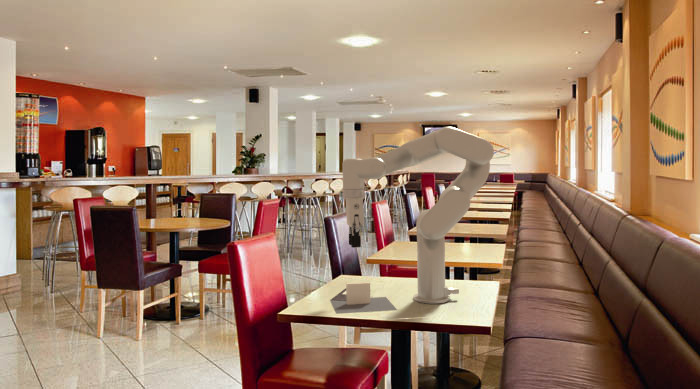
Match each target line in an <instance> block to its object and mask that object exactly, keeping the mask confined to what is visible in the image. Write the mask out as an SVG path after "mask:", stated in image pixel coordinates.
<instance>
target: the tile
mask: <svg viewBox="0 0 700 389" xmlns="http://www.w3.org/2000/svg"><path fill="white" fill-rule="evenodd" d="M345 283H346V284H345V287H346V301H347V305H350V304H368V303H370V298H371V282H370V281H367V282H345Z"/></svg>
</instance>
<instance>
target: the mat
mask: <svg viewBox="0 0 700 389" xmlns="http://www.w3.org/2000/svg"><path fill="white" fill-rule="evenodd" d="M329 301H330V303H331V305H332V307H333V310H334V311H335V314H337V315H338V314H352V313H354V314H355V313H372V312H388V311H398V309H397V307H395V306H394V304H393V303H392V302H391V301H390V300H389V299H388V298H387V296H379V297H377V296H376V297H370V303H368V304H350V305H347V301H338V300H331V299H329Z"/></svg>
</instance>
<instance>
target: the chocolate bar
mask: <svg viewBox="0 0 700 389" xmlns="http://www.w3.org/2000/svg"><path fill="white" fill-rule="evenodd" d="M330 300H338V301H346V288H344V289H343V290H342V291H340V292H339V293H338V294H335V296H333V297H332V298H331V299H330Z"/></svg>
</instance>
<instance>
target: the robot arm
mask: <svg viewBox="0 0 700 389" xmlns="http://www.w3.org/2000/svg"><path fill="white" fill-rule="evenodd" d="M445 154H450V155H453V156H455V157H458V158H460V159H463V160H465V166H464V168H463V170H462V171H461V172H460V173H459V174H458V175H457V177H456V178H455V179H454V180H453V181H452V182H451V183H450V184H449V185H448V186H447V187H446V188H445V189H443V190H442V192H441V193H440V194H439V199H438V201H437V202H435V204H434V205H433V206H432V207H431V208H429V209H425V210H423V211H421V212H420V214H418V217H417V219H416V223H415V224H416V225H415V226H416V228H415V229H416V247H417V249H416V252H417V254H416V255H417V256H416V259H417V260H416V262H417V264H416V265H417V266H416V267H417V268H416V269H417V293H415V294H413V297H412V298H413V301H415V302H417V303H420V304H429V305H430V304H431V305H434V304H436V305H437V304H444V303H447V302H449V301H450V300H451V296H450V295H451V294H452V295H458V294H459V293H460V291H459V289H460V288H458V287H457V288H456V287H455V288H453V287H447V286H446V244H445V242H446V240H445V236H446V235H447V234H448V233H449V232H450V231H451V230H452V229H453V228H454V227H455V226H456V225H457V224H458V223H459V222H460V220H461V219H462V218H464V216H465V215H466V214H467V213H468V211H469V209H470V206H471V200H472V199H473V197H474V196H475V195H476V194H477V193H478V192H479V191H480V190H481V189H482V187H483V186H484V185H485V183H486V182H487V180H488V178H489V174H490V171H491V170H490V169H491V160H492V159H493V157H494V154H495V150H494V146H493V145H492V143H491V142H490V141H489V140H487V139H485V138H483V137H480V136H477V135H475V134H472V133H469V132H466V131H465V130H464V131H463V130H461V129H458V128H456V127H453V126H443V127H442V128H440V129H437V130H434V131H431V132H429V133H427V134H425V135H422V136H420V137H417V138H414V139H413V140H409V141H407V142H405V143H403V144H402V145H400V146H397V147H396V148H393V149H391V150H390V151H388V152H384V153H382V154H379V155H377V156H374V157H369V158H345V159H344V160H343V161H342V199H345V208H346V210H345V211H346V213H345V214H346V224H347V226H348V245H350V246H351V248H361V247H362V241H361V240H362V239H361V238H362V237H361V227H362V228H363V227H364V226H365V215H364V202H363V199H365V196H366V195H365V192H366V191H365V186H366V185H365V179H366V180H367V179H369V180H379V179H381V178H383V177H384V176H387V175H390V174H392V173H394V172H397V171H400V170H403V169H405V168H411V167H414V166H418V165H419V164H424V163H425V162H427V161H430V160H432V159H436V158H438V157H440V156H442V155H445Z"/></svg>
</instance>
